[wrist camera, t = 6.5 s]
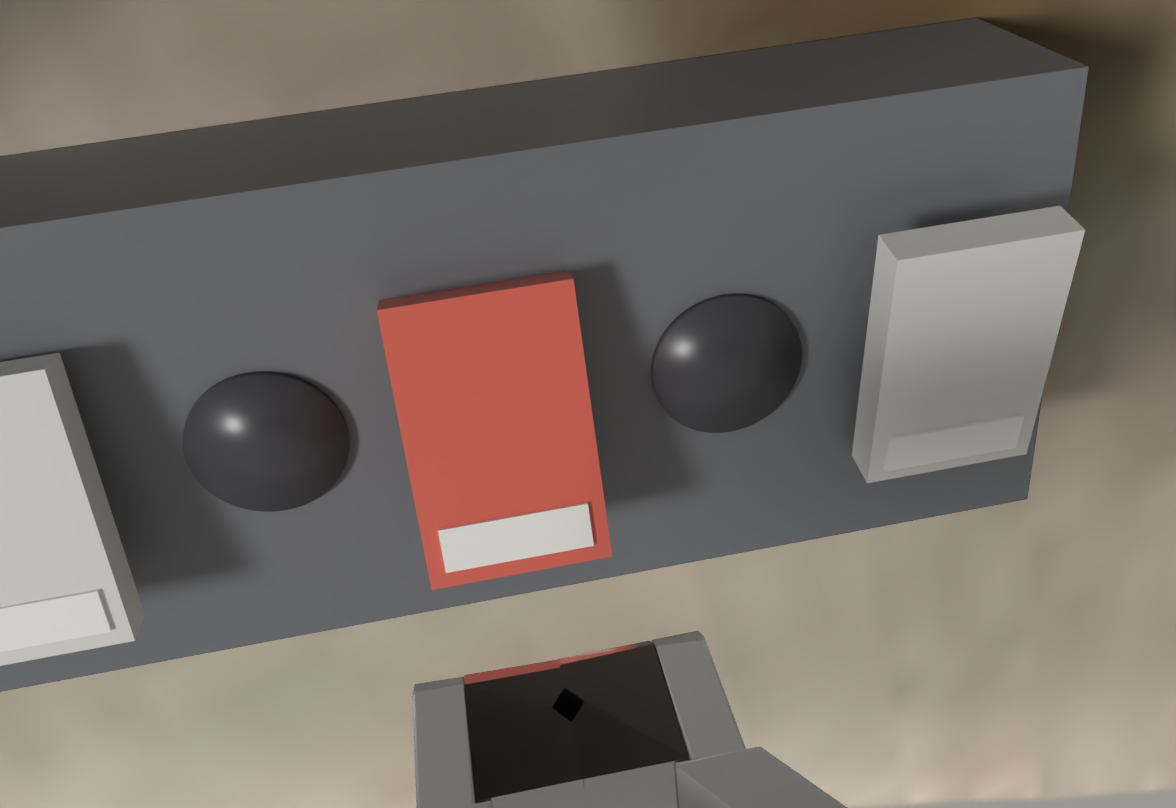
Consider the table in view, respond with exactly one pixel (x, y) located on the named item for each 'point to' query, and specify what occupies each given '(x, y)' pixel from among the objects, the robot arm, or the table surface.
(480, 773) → the robot arm
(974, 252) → the rocker
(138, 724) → the table surface
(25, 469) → the rocker
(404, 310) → the rocker middle
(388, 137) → the strip housing
